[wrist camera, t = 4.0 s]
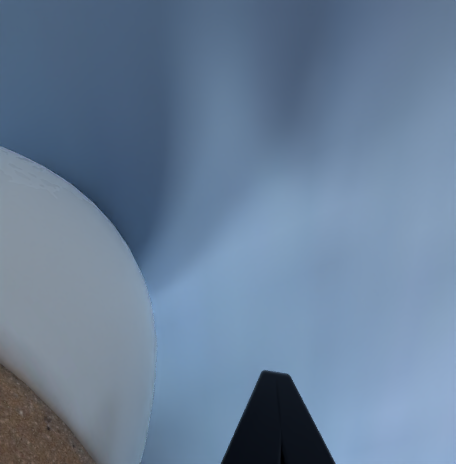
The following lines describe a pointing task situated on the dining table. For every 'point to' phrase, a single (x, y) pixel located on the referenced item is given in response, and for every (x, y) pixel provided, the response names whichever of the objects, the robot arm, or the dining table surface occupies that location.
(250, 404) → the robot arm
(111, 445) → the lidded jar
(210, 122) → the dining table surface
